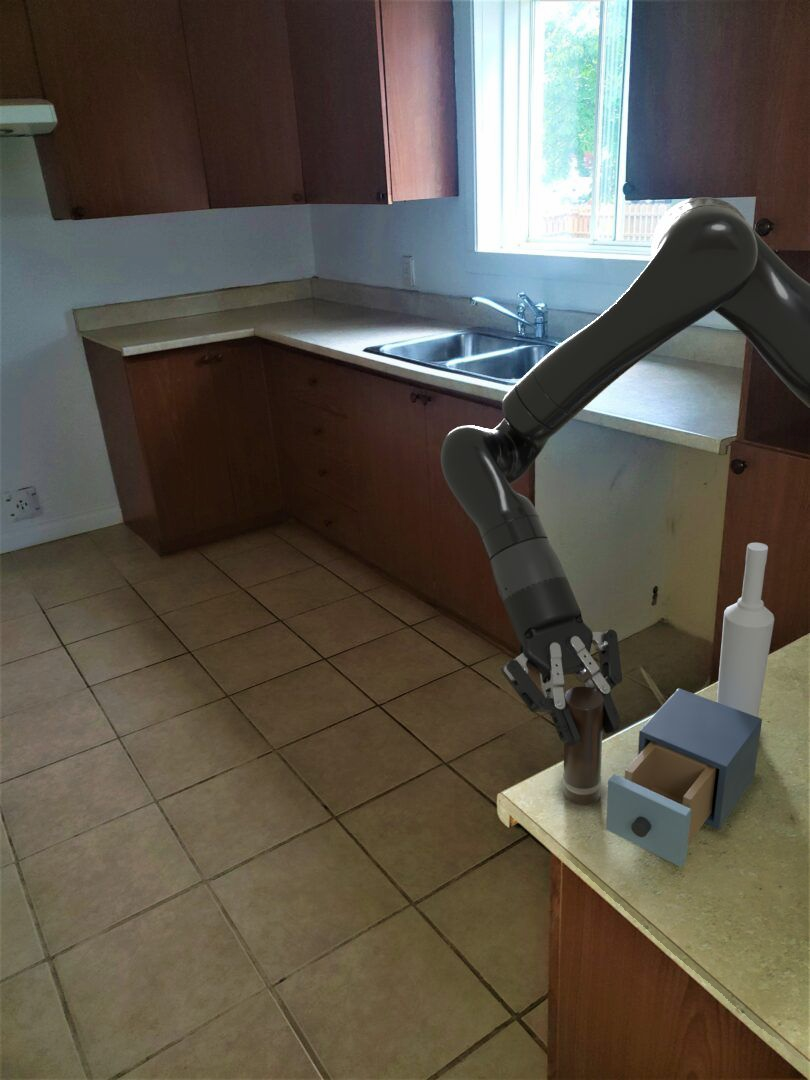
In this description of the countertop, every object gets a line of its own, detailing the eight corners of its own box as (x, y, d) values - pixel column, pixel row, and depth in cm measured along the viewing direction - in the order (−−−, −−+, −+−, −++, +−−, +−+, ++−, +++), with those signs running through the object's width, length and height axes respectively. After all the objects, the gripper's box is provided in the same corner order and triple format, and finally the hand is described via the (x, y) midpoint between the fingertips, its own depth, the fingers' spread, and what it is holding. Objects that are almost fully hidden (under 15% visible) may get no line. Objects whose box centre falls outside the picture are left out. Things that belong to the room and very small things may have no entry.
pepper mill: (586, 775, 93) (589, 681, 88) (607, 798, 90) (612, 702, 84) (555, 787, 92) (556, 692, 86) (576, 810, 88) (578, 714, 83)
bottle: (708, 741, 97) (729, 554, 86) (714, 716, 101) (734, 533, 90) (755, 752, 95) (782, 560, 84) (759, 725, 99) (785, 539, 88)
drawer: (675, 875, 79) (680, 823, 76) (599, 836, 84) (601, 786, 81) (716, 817, 85) (722, 767, 82) (644, 784, 90) (647, 735, 87)
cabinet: (719, 830, 84) (726, 767, 81) (635, 791, 90) (639, 730, 87) (753, 779, 91) (762, 718, 87) (673, 746, 96) (678, 687, 93)
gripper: (487, 593, 85) (549, 754, 80) (602, 561, 89) (668, 711, 84) (466, 614, 91) (522, 764, 86) (574, 583, 96) (634, 724, 91)
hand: (594, 737), depth 85 cm, fingers closed on pepper mill, 4 cm apart
